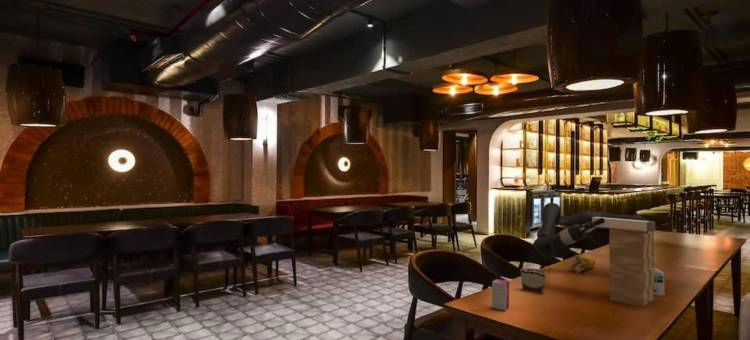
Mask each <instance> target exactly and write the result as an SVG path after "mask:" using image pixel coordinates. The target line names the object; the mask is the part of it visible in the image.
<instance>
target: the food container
mask: <svg viewBox="0 0 750 340" xmlns="http://www.w3.org/2000/svg"><path fill="white" fill-rule="evenodd" d="M519 274H520V277H521V286H522V291H523V292H529V293H533V294H537V295H538V294H539V295H543V294H544V289H545V280H546V278H547V273H546V271H545V270H543V269H538V268H520V270H519Z"/></svg>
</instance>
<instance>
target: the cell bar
mask: <svg viewBox="0 0 750 340" xmlns="http://www.w3.org/2000/svg"><path fill="white" fill-rule="evenodd" d="M600 218H603V219H604V220H605V222H604V223H602V224H600V225H597V226H596V227H606V228H609V229H615V228H616V229H626V230H637V231H647V232H654V233H655V231H656V221H651V220H648V221H641V220H629V219H616V218H604V217H592V221H596V220H598V219H600Z"/></svg>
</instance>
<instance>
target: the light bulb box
mask: <svg viewBox="0 0 750 340" xmlns="http://www.w3.org/2000/svg"><path fill="white" fill-rule="evenodd" d="M665 289H666V288H665V272H663V271H662V270H659V269H657V268H656V267H654V296H664V297H665V294H666V293H665V291H666V290H665Z"/></svg>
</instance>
